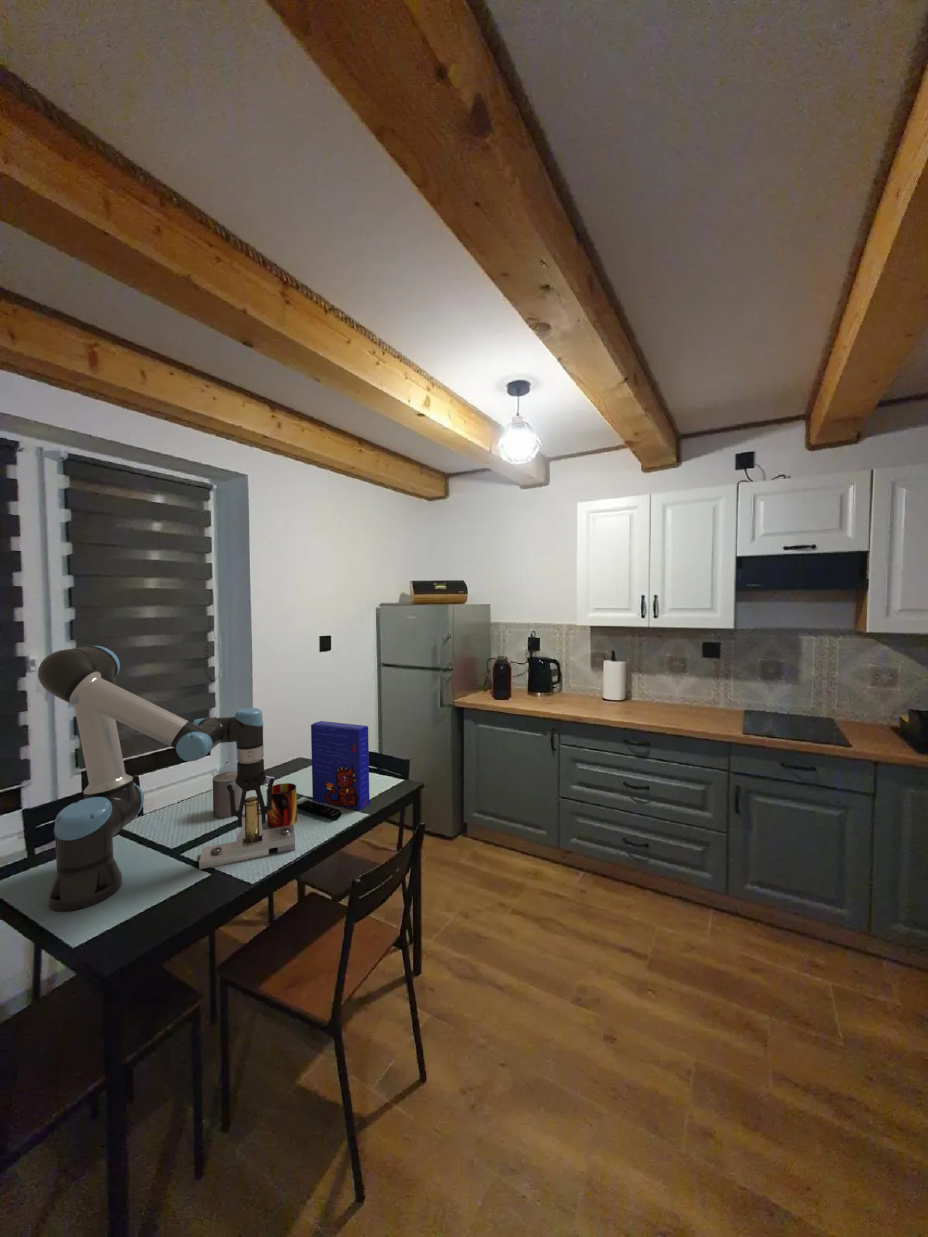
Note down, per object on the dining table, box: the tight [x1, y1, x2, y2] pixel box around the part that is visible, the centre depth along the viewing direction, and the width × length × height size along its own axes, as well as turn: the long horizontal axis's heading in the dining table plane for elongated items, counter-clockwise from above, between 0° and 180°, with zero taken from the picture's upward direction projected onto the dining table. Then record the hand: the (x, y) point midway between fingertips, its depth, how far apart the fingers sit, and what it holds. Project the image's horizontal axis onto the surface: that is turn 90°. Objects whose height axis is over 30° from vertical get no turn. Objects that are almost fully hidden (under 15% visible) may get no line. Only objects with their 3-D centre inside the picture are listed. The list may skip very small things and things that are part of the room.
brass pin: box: [244, 796, 260, 844], centre depth 144 cm, size 5×5×14 cm
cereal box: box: [310, 720, 371, 811], centre depth 178 cm, size 22×6×30 cm, turn 68°
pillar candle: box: [212, 770, 242, 819], centre depth 171 cm, size 10×10×15 cm
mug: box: [266, 782, 298, 829], centre depth 162 cm, size 10×14×12 cm
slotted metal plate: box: [198, 825, 296, 870], centre depth 144 cm, size 26×9×5 cm, turn 113°
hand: (252, 834), depth 144 cm, fingers closed on brass pin, 4 cm apart
